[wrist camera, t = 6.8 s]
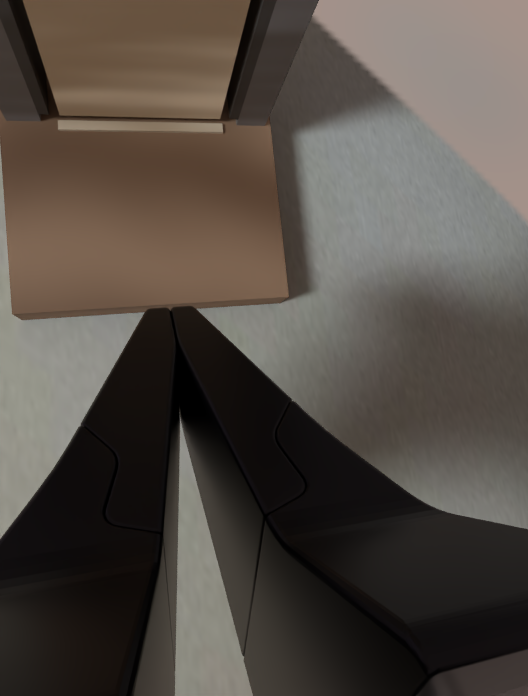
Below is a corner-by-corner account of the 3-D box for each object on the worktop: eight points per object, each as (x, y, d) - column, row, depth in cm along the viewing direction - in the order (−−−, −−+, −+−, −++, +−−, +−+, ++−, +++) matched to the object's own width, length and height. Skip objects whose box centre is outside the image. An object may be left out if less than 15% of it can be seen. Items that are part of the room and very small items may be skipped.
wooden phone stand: (279, 303, 18) (441, 190, 8) (22, 319, 16) (-188, 196, 6) (257, 91, 18) (381, -260, 9) (5, 82, 16) (-213, -391, 7)
